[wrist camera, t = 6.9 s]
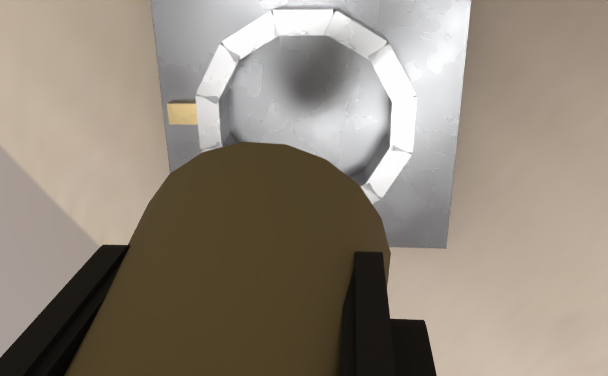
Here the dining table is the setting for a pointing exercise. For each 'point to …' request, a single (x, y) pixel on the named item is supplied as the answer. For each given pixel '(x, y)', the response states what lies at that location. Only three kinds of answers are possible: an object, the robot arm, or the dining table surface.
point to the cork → (236, 270)
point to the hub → (325, 92)
